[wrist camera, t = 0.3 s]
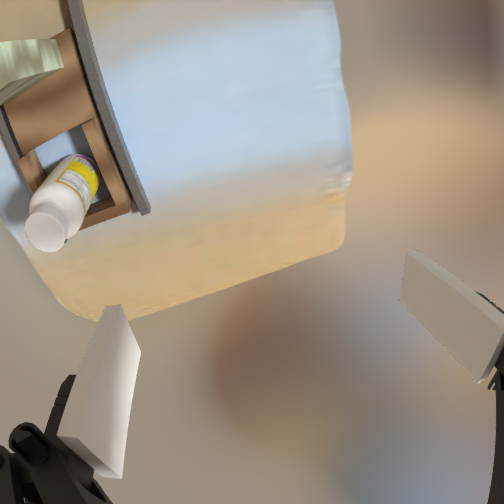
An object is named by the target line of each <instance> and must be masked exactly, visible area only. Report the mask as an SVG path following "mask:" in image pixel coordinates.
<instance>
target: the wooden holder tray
mask: <svg viewBox="0 0 504 504" xmlns="http://www.w3.org/2000/svg"><path fill="white" fill-rule="evenodd" d="M2 104H3V105H4V108H5V111H6V114H7V117H8V119H9V122H10V125H11V127H12V130H13V132H14V135H15V137H16V140H17V142H18V144H19V147H20V149H21V151H22V154H23V156H22V157H21V158H20V159H19V160H17V162H18V164H19V166H20V168H21V170H22V172H23V174H24V176H25V178H26V180H27V182H28V184H29V186H30V188H31V190H32V192H33V194H34V193H35V191H36V190H37V189H38V188H39V186H40V185H41V184H42V183H43V182H44V180H45V179H46V178H47V176H46V174H45V172H44V170H43V168H42V166H41V164H40V162H39V159H38V157H37V155H36V153H35V150H34V149H35V148H36V147H38V146H40V145H41V144H43V143H45V142H47V141H48V140H50V139H52V138H54V137H56V136H58V135H59V134H61V133H63V132H65V131H67V130H69V129H71V128H73V127H75V126H77V125H79V124H81V123H83V122H85V121H86V122H85V123H83V124H82V128H83V131H84V133H85V136H86V138H87V141H88V143H89V146H90V148H91V151H92V153H93V155H94V158H95V160H96V162H97V165H98V167H99V169H100V172H101V174H102V176H103V178H104V181H105V183H106V185H107V187H108V189H109V191H110V194H111V196H112V197H111V198H108V199H105V200H103V201H100V202H98V203H95V204H93V205H90V207H89V209H88V211H87V213H86V215H85V218H84V220H83V223H82V225H81V227H80V229H79V230H82V229H85V228H87V227H90V226H92V225H95V224H98V223H101V222H103V221H106V220H109V219H112V218H114V217H117V216H120V215H123V214H126V213H129V211H130V208H131V204H132V198H131V196H130V194H129V191H128V189H127V187H126V185H125V182H124V180H123V178H122V175H121V173H120V171H119V168H118V166H117V163H116V161H115V158H114V156H113V153H112V151H111V148H110V146H109V143H108V141H107V138H106V136H105V133H104V130H103V128H102V125H101V122H100V119H99V117H98V114H97V111H96V108H95V105H94V102H93V100H92V97H91V94H90V91H89V88H88V84H87V81H86V78H85V75H84V72H83V68H82V65H81V62H80V58H79V55H78V51H77V48H76V44H75V40H74V37H73V33H72V29H66V30H64V31H63V32H61V33H59V34H57V35H55V36H54V37H52V38H50V39H35V40H18V41H6V42H0V105H2ZM79 230H78V231H79Z"/></svg>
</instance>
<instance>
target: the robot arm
mask: <svg viewBox="0 0 504 504" xmlns="http://www.w3.org/2000/svg"><path fill="white" fill-rule="evenodd" d="M399 301H400V302H401V303H402V304H403V305H404V306H405V307H406V308H407V309H408V310H409V311H410V312H411V313H412V314H413V315H414V316H415V317H416V318H417V319H418V320H419V321H420V322H421V323H422V324H423V326H424V327H425V328H426V329H427V330H428V331H429V332H430V333H431V334H432V335H433V336H434V337H435V338H436V339H437V340H438V341H439V342H440V343H441V344H442V346H443V347H445V349H446V350H447V351H448V352H449V353H450V354H451V355H452V356H453V357H454V359H455V360H456V361H457V362H458V363H459V364H460V365H461V366H462V368H463V369H464V370H465V371H466V372H467V373H468V374H469V375H470V377H471V378H472V379H473V380H474V381H475V383H476V384H478V383H480V382H481V381H483V380H484V379H486V378H487V377H488V376H489V374H490V372H491V371H492V369H493V367H494V366H495V367H496V368H497V371H496V373H495V375H494V377H493V378H492V380H491V382H490V383H489V385H488V389H490V388H491V386H492V385H493V383H494V382H495V386H494V387H493V390H496V442H495V443H496V444H495V456H494V467H493V474H492V481H491V488H490V493H489V498H488V503H487V504H504V311H502V310H501V309H500V308H499V307H496V305H495V304H494V303H493V302H490V300H489V299H488V298H486V297H485V296H484V295H482V294H480V293H478V292H476V291H474V290H472V289H471V288H470V287H468V286H467V285H466V284H464V283H463V282H462V281H460V280H459V279H458V278H456V277H455V276H454V275H452V274H451V273H449V272H448V271H447V270H445V269H444V268H442V267H441V266H440V265H438V264H437V263H435V262H434V261H432V260H431V259H429V258H428V257H427V256H425V255H424V254H422V253H421V252H419V251H418V250H416V251H412V252H407V253H406V256H405V264H404V271H403V278H402V285H401V291H400V297H399ZM140 355H141V351H140V349H139V347H138V344H137V342H136V340H135V338H134V335H133V333H132V330H131V328H130V326H129V323H128V321H127V318H126V316H125V313H124V311H123V308H122V306H121V304H119V305H112V306H106V307H105V309H104V311H103V313H102V315H101V317H100V320H99V322H98V324H97V326H96V329H95V331H94V334H93V336H92V338H91V340H90V343H89V345H88V348H87V350H86V353H85V355H84V357H83V360H82V363H81V365H80V367H79V370H78V373H77V375H69V376H68V377H67V378H66V380H65V381H64V382H63V383H62V384H61V387H60V390H59V392H58V395H57V396H58V397H57V398H56V400H55V403H54V406H53V408H52V411H51V414H50V417H49V420H48V423H47V426H46V429H45V432H44V434H43V433H42V432H41V430H40V429H39V428H38V427H37V426H36V425H34V424H32V423H26V422H25V423H22V424H19V425H18V426H17V427H16V428H14V430H13V431H12V433H11V434H10V438H9V448H10V449H11V450H12V451H14V452H15V453H10V452H9V451H8V450H7V449H6V448H5V447H3V446H1V445H0V504H113V503H112V502H111V501H110V499H109V498H108V497H107V495H106V494H105V493H104V491H103V490H102V488H101V487H100V485H99V484H98V482H97V481H96V480H95V479H94V478H93V474H94V470H95V471H96V472H97V473H99V474H100V475H101V476H103V477H110V478H121V479H122V474H123V462H124V454H125V446H126V437H127V430H128V423H129V416H130V410H131V403H132V397H133V391H134V386H135V380H136V375H137V369H138V365H139V359H140ZM24 498H25V502H24Z"/></svg>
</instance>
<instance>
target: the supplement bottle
mask: <svg viewBox="0 0 504 504" xmlns="http://www.w3.org/2000/svg"><path fill="white" fill-rule="evenodd" d="M99 185H100V172H99V169H98V167H97V165H96V163H95V162H94V161H93V160H92V159H91V158H89V157H88V156H85V155H82V154H72V155H69V156H67V157H65V158H64V159H63V160H62V161H61V162H60V163H59V164H58V165H57V166H56V167H55V168H54V169H53V171H52V172H51V173H50V174H49V175H48V177H47V178H46V179H45V180H44V182H43V183H42V184H41V185H40V186H39V188H38V189H37V190H36V191H35V193H34V194H33V196H32V198H31V200H30V204H29V216H28V218H27V220H26V222H25V233H26V236H27V238H28V240H29V241H30V242H31V244H32V245H33V246H34V247H36V248H37V249H39V250H41V251H45V252H54V251H57V250H59V249H60V248H61V247H62V246H63V244H64V242H65V240H66V239H68V238H70V237H72V236H73V235H75V234H76V233H77V231H78V230H79V229H80V227H81V225H82V223H83V220H84V218H85V215H86V213H87V211H88V209H89V207H90V204H91V202H92V200H93V198H94V196H95V194H96V192H97V190H98V187H99Z"/></svg>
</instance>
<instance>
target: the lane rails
mask: <svg viewBox="0 0 504 504" xmlns="http://www.w3.org/2000/svg"><path fill="white" fill-rule="evenodd" d="M68 5H69V10H70V14H71V18H72V23H73V27H74V31H75V35H76V38H77V42H78V46H79V49H80V53H81V57H82V60H83V63H84V67H85V70H86V73H87V77H88V80H89V83H90V86H91V89H92V92H93V95H94V98H95V101H96V104H97V107H98V110H99V112H100V115H101V118H102V121H103V124H104V126H105V129H106V132H107V134H108V137H109V140H110V142H111V145H112V147H113V150H114V152H115V155H116V157H117V160H118V162H119V165H120V167H121V170H122V172H123V174H124V177H125V179H126V181H127V184H128V186H129V188H130V191H131V193H132V195H133V198H134V200H135V202H136V204H137V206H138V209H139V211H140V213H141V215H145V214H148V213H150V209H151V206H150V204H149V202H148V199H147V197H146V195H145V192H144V190H143V187H142V185H141V183H140V180H139V178H138V175H137V173H136V170H135V168H134V165H133V163H132V160H131V157H130V155H129V152H128V150H127V147H126V144H125V142H124V139H123V136H122V134H121V131H120V128H119V125H118V122H117V120H116V117H115V114H114V111H113V108H112V105H111V102H110V99H109V96H108V93H107V90H106V87H105V84H104V81H103V77H102V74H101V71H100V68H99V64H98V61H97V57H96V54H95V50H94V47H93V43H92V39H91V36H90V32H89V28H88V24H87V20H86V16H85V12H84V7H83V3H82V0H68ZM0 130H1V133H2V135H3V138H4V140H5V142H6V145H7V147H8V149H9V152H10V154H11V156H12V158H13V161H14V163H15V165H16V167H17V169H18V171H19V173H20V175H21V177H22V179H23V181H24V183H25V185H26V187H27V189H28V191H29V193H30V195H31V197H32V196H33V192H32V190H31V188H30V186H29V184H28V182H27V180H26V178H25V176H24V174H23V172H22V170H21V168H20V166H19V164H18V162H17V160H19V159H20V158H21V157H22V156H23V154H22V151H21V149H20V147H19V144H18V142H17V140H16V137H15V135H14V132H13V130H12V127H11V125H10V122H9V119H8V117H7V114H6V111H5V108H4V105H3V104H2V105H0ZM67 240H68V239H66V240H65V242H64V243H66V242H67Z"/></svg>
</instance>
